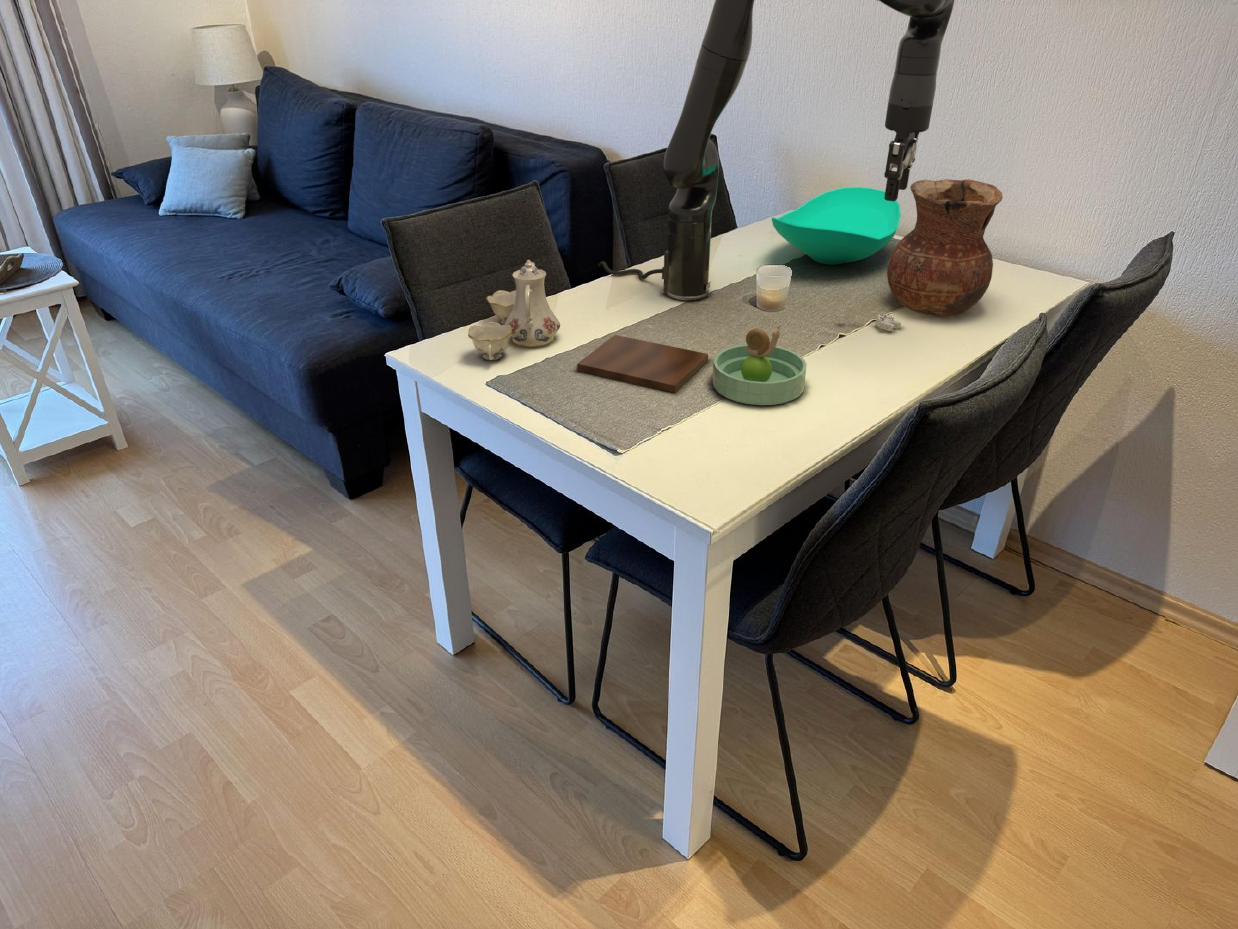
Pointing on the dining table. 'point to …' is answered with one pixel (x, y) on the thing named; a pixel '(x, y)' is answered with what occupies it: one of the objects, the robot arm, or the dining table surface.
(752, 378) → the snail figurine
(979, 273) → the jug
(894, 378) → the dining table surface
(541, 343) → the chinaware
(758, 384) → the bowl
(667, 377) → the walnut board
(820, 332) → the dining table surface
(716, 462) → the dining table surface
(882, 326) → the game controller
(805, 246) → the table top decor
